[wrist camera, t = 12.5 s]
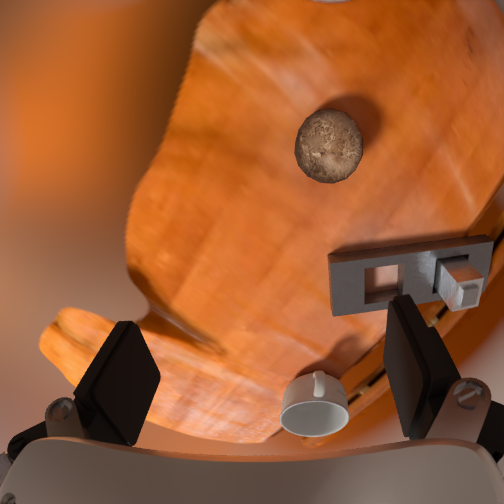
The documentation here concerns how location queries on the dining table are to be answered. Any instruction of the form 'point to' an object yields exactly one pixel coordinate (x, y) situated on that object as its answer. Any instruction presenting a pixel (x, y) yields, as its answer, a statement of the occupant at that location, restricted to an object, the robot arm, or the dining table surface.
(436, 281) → the grey rectangular block
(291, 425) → the teacup
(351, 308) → the rail
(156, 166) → the dining table surface
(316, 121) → the mushroom
